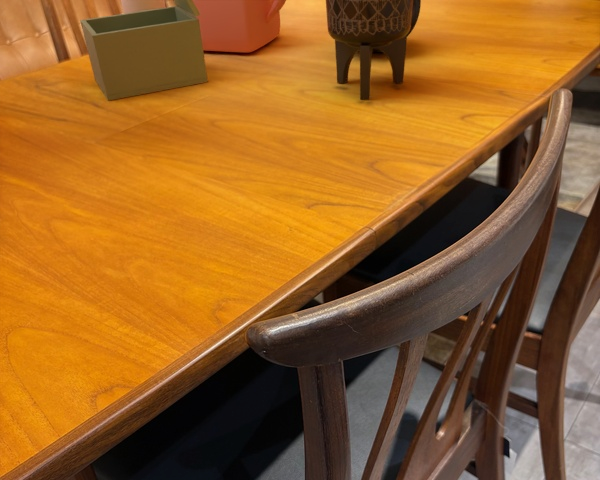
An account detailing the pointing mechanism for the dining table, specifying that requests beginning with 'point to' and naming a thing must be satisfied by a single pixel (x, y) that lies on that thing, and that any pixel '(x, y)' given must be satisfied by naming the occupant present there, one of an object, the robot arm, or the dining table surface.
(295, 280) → the dining table surface
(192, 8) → the lid
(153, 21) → the chest
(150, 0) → the mug
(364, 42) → the planter
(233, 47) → the teapot
